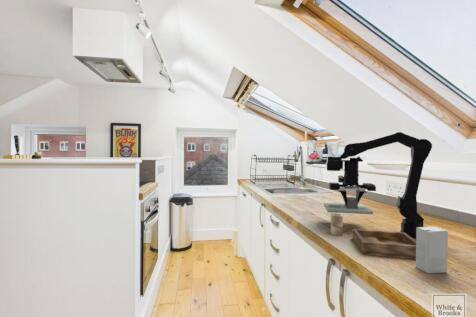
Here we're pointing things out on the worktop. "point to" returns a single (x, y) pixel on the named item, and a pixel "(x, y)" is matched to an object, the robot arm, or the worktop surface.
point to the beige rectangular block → (337, 224)
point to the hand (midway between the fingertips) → (351, 205)
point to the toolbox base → (385, 243)
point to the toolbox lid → (348, 207)
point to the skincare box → (431, 249)
